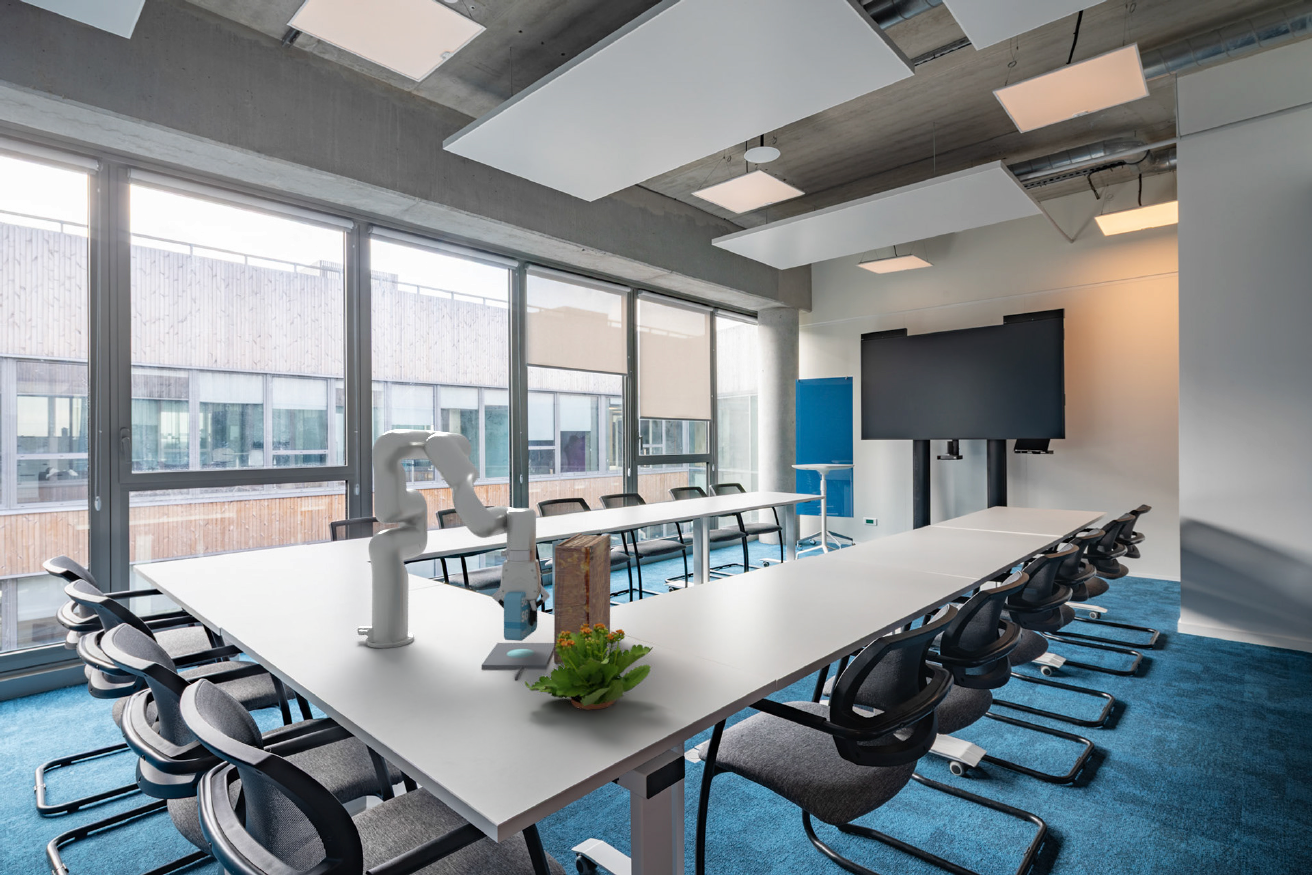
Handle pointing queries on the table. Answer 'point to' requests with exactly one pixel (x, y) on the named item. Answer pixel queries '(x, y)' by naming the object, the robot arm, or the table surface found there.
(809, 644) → the table surface
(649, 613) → the table surface
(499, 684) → the table surface
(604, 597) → the book
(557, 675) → the potted flower
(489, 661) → the charging mat
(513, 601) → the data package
